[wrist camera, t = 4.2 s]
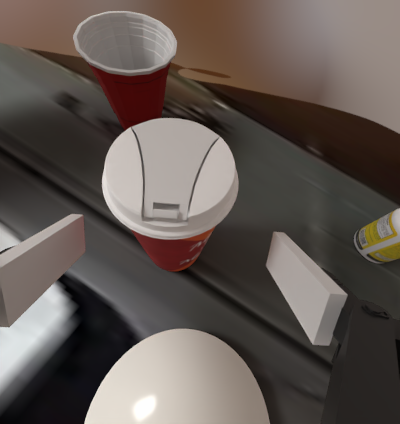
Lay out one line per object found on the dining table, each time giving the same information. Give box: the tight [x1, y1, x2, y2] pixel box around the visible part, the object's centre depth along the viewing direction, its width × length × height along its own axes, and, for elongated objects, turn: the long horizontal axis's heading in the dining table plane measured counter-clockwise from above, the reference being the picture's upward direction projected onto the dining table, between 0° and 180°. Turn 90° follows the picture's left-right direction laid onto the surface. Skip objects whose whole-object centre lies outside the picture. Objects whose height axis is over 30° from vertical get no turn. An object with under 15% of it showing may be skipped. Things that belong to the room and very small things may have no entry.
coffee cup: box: [102, 118, 239, 271], centre depth 19 cm, size 8×8×15 cm
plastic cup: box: [73, 11, 177, 131], centre depth 28 cm, size 11×11×12 cm
